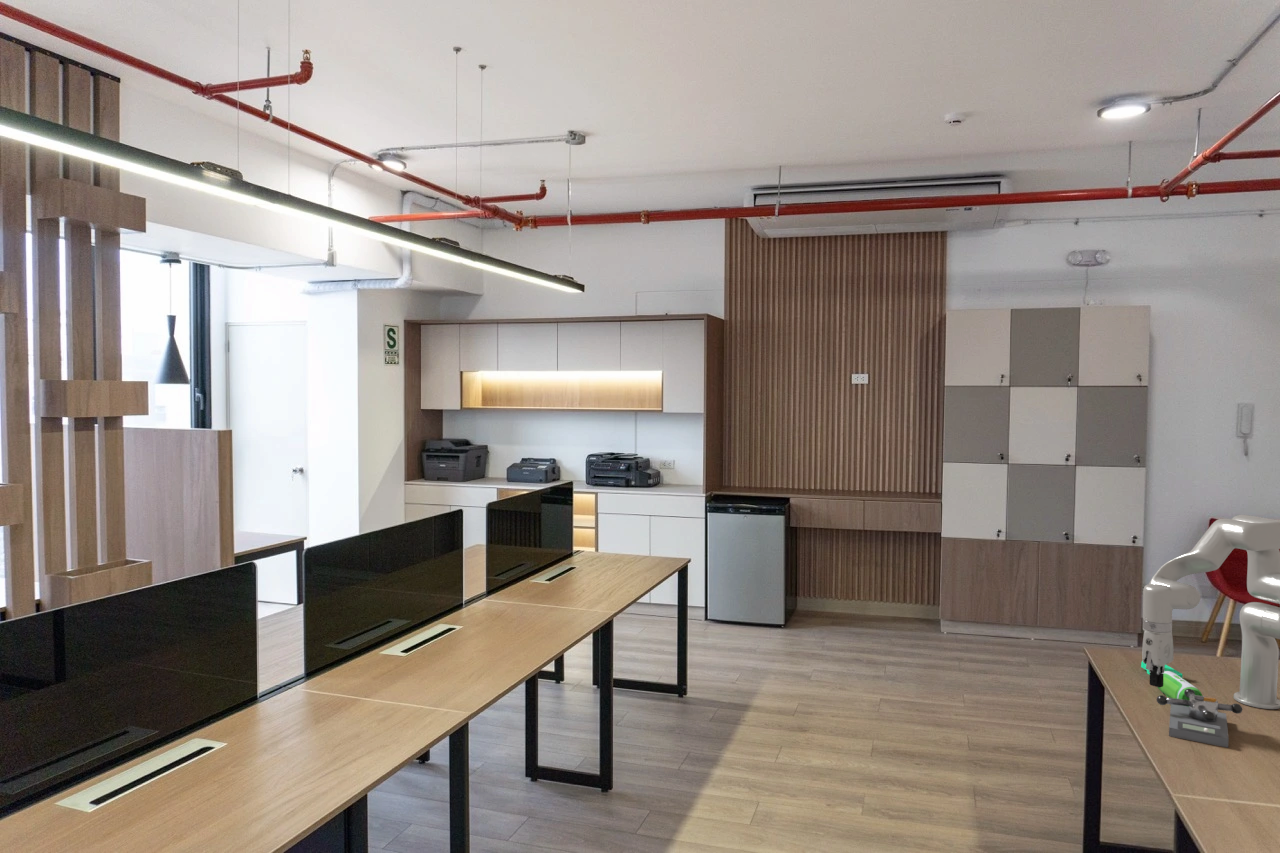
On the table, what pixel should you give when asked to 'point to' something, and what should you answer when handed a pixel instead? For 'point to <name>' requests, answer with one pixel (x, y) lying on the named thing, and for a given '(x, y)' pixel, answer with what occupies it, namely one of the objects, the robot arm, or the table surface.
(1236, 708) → the capstan
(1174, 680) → the speaker
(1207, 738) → the stand
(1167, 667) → the camera mount
